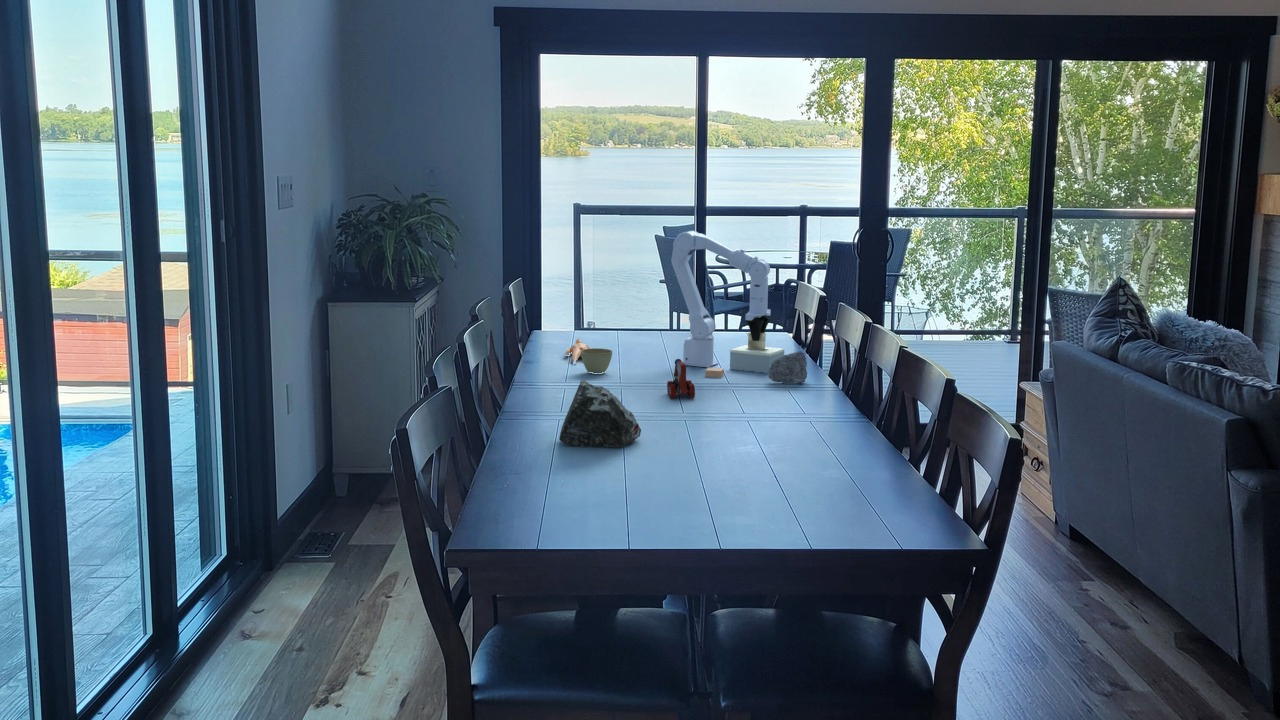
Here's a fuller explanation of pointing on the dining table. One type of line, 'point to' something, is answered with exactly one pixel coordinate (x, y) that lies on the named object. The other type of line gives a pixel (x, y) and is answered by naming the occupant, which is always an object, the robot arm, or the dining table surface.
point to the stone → (598, 419)
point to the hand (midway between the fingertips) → (757, 340)
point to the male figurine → (576, 349)
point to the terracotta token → (714, 372)
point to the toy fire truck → (680, 382)
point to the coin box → (754, 358)
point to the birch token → (757, 344)
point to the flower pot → (596, 359)
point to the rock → (789, 368)
